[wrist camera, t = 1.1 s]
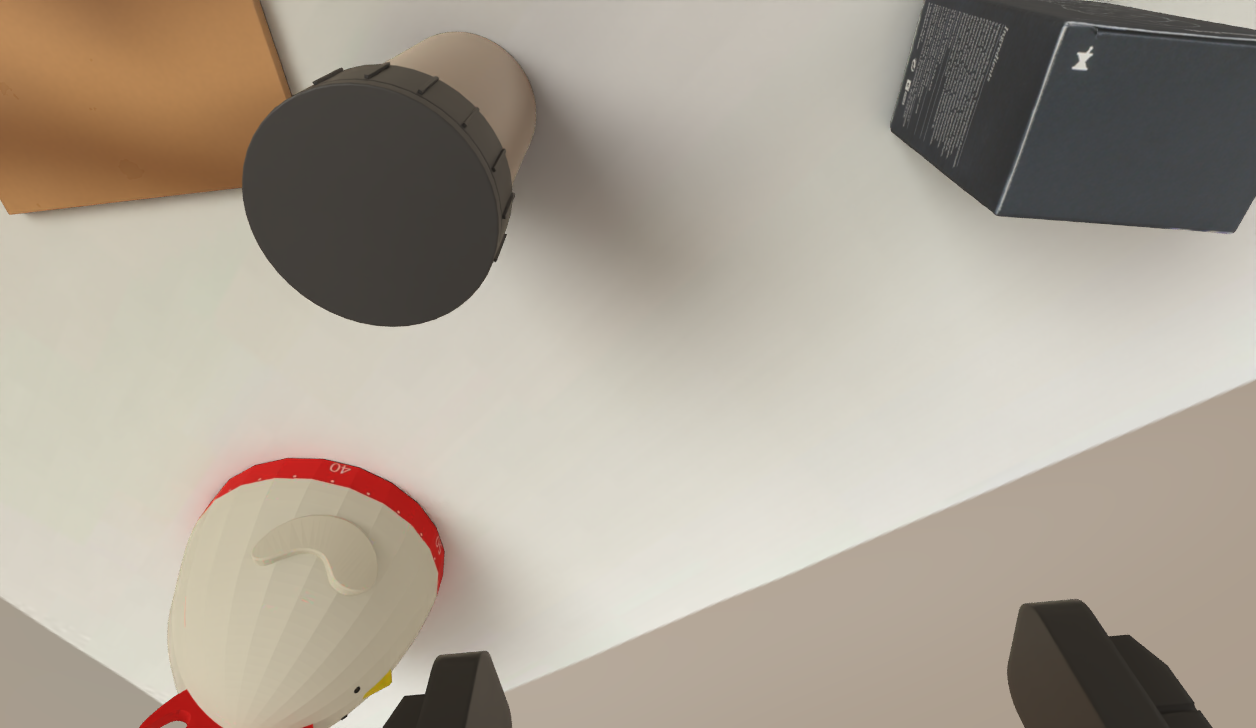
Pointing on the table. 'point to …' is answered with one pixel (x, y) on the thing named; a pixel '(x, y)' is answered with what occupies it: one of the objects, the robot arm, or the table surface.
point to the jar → (481, 84)
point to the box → (1085, 111)
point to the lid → (379, 194)
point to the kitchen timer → (297, 597)
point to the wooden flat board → (130, 98)
